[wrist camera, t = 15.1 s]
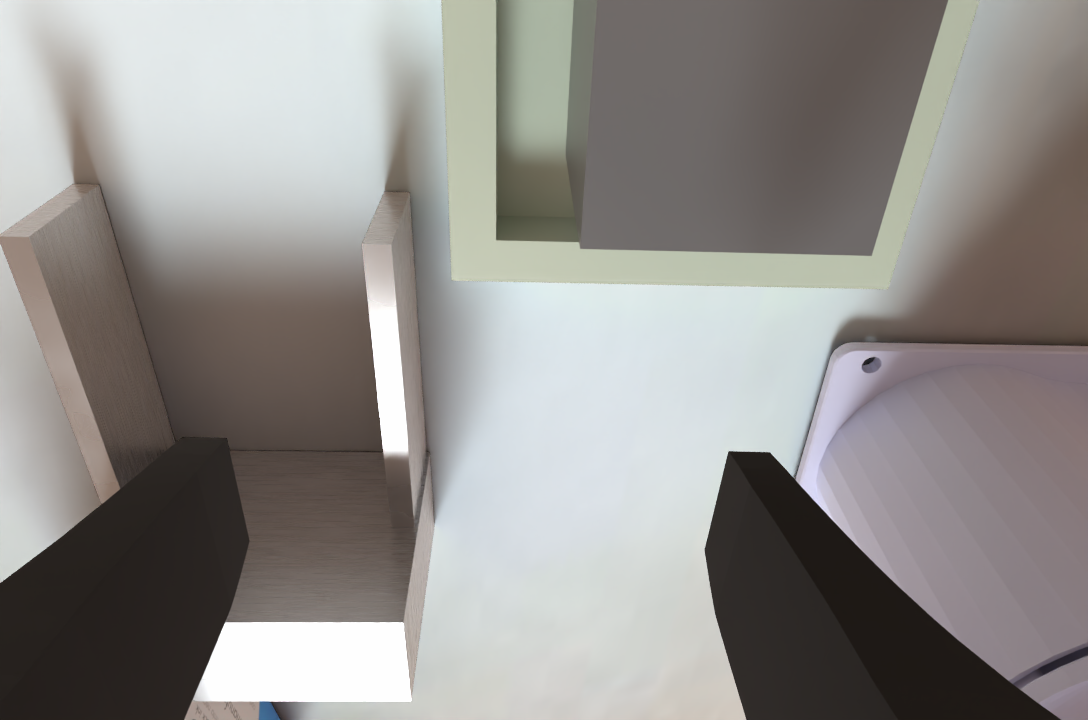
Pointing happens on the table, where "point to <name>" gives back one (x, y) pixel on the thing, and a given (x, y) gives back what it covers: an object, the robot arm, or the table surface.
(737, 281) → the green tray
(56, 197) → the steel bay
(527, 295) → the table surface
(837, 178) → the orange handle block
